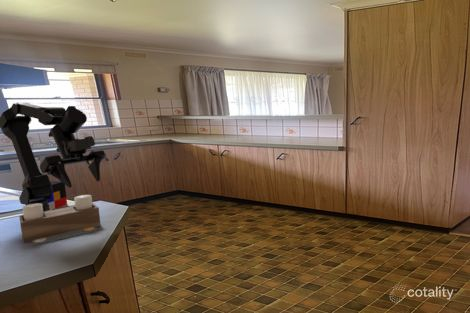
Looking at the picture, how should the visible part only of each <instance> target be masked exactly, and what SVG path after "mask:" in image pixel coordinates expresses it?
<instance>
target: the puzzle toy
mask: <svg viewBox="0 0 470 313" xmlns="http://www.w3.org/2000/svg"><path fill="white" fill-rule="evenodd" d="M49 181H50V183H51V185H52V198H51V199H48V200H47V201H48V204H49V209H50V210H53V209H54V210H55V209H60V208H63V207H64V206H67V205H68V200H67V199H68V198H67V192H66V185H65V184H64V183H63V182H61V181H60V180H58V181H57V180H56V181H55V180H54V181H53V180H52V181H51V180H49Z"/></svg>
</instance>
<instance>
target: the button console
mask: <svg viewBox="0 0 470 313" xmlns="http://www.w3.org/2000/svg"><path fill="white" fill-rule="evenodd" d="M92 207H93V208H88V209H83V210H78V211H76V208H75V205H71V206H66V207H59V208H56V209H54V210H49V211H44V212H43V215H44V217H42V218H37V219H32V220H27V221H24V214H23V215H19V216H18V217H19V224H20V230H21V231H20V232H21V236H22V242H23V244H25V243H30V242H31V243H32V240H35V239H39V238H43V237H48V236H52V235H56V234H61V233H65V232H70V231H74V230H78V229H83V228H87V227H91V226H95V227H96V228H97V227H99V226H101V216H100V207H98V206H97V205H96V204H95V203H94V202H92Z"/></svg>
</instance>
